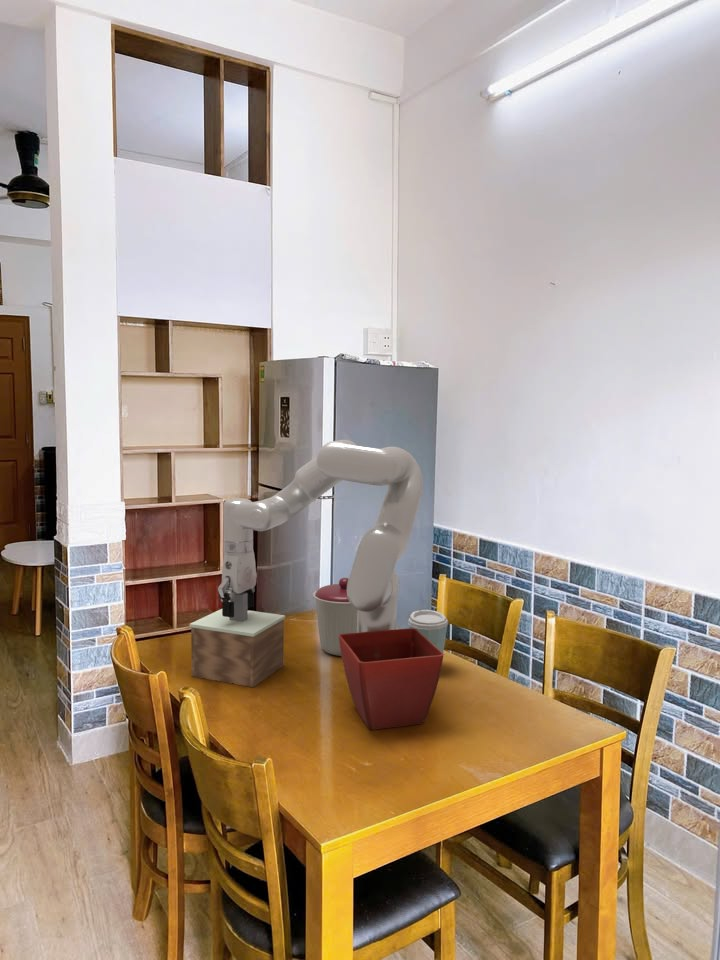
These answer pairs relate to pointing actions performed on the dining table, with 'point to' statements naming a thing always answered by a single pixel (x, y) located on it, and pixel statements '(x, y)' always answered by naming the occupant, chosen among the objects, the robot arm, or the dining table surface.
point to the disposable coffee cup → (430, 626)
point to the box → (237, 655)
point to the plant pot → (391, 675)
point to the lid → (239, 619)
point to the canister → (334, 615)
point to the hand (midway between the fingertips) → (238, 611)
